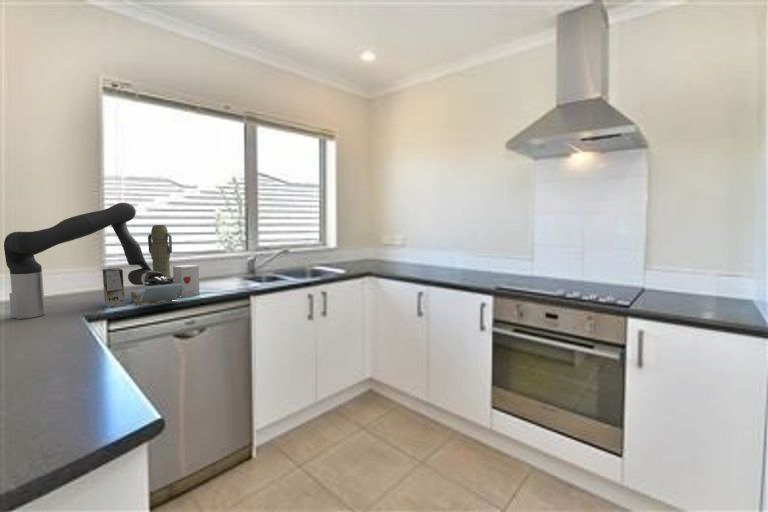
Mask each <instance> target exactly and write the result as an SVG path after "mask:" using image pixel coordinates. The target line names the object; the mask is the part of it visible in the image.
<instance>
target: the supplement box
mask: <svg viewBox="0 0 768 512" xmlns="http://www.w3.org/2000/svg"><path fill="white" fill-rule="evenodd" d="M199 267H200V266H199V265H195V264H183V265H181V264H180V265H173V266H172V277H175V283H173V284H176V283H183V286H182V287H181V289H180V291H179V292H178V294H177V297H180V296H181V297H180V298H185V297H184V296H187V297H192V296H191V295H194V296H199V295H200V273H199V272H200V271H199Z"/></svg>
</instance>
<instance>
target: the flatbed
mask: <svg viewBox="0 0 768 512" xmlns="http://www.w3.org/2000/svg"><path fill="white" fill-rule="evenodd" d="M142 295H143V294H141V295H139V294H137V293H136V292H135V291H131V292H130V300H131V301H132V302H131V301H130V302H131V303H133V304H134V305H135V304H136V305H135V306H137V305H140V306H145V305H144V304H148V305H153V304H152V303H156V304H160V303H159V302H164V303H166V302H165V301H171V302H173V301H172V300H178V296H176V297H175V298H174V299H166V300H158V301H150V302H142V303H140V299H141V297H142Z"/></svg>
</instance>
